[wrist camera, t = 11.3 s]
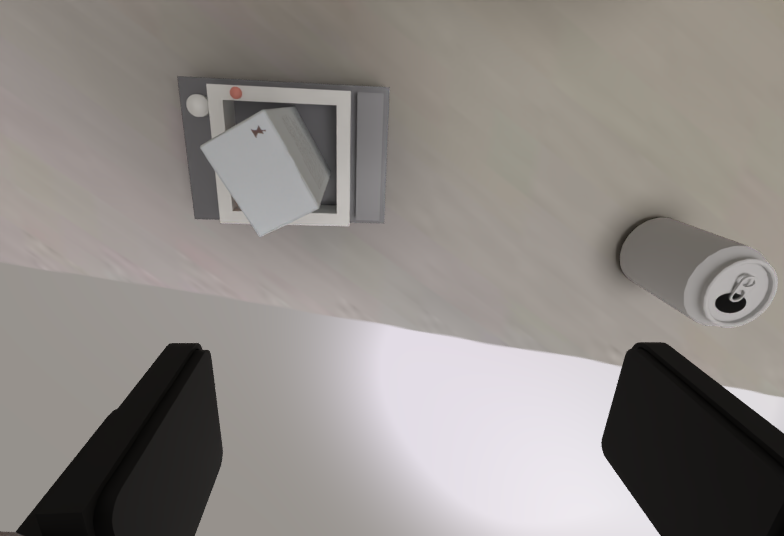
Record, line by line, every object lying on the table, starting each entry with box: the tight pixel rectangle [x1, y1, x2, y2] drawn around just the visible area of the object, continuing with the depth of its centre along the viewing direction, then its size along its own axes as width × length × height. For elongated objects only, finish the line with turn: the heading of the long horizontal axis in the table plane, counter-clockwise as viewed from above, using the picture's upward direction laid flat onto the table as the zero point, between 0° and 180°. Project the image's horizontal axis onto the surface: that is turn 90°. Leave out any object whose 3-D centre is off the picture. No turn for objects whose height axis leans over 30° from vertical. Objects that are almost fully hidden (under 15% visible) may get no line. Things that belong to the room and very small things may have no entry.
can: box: [620, 217, 778, 328], centre depth 40 cm, size 8×8×12 cm
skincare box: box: [200, 106, 331, 237], centre depth 29 cm, size 6×4×12 cm
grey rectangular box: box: [177, 76, 390, 226], centre depth 35 cm, size 16×11×8 cm
